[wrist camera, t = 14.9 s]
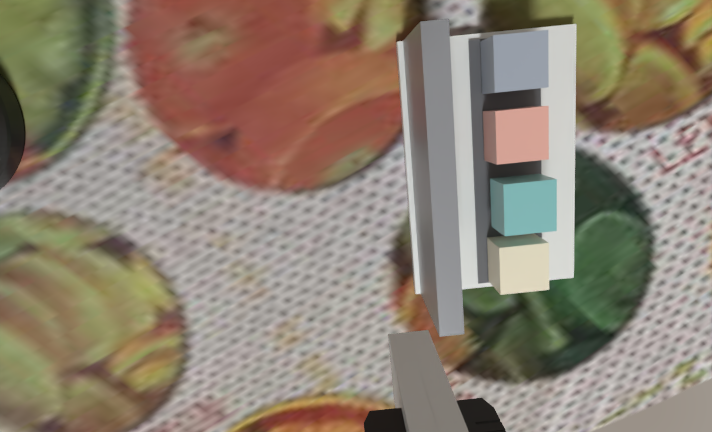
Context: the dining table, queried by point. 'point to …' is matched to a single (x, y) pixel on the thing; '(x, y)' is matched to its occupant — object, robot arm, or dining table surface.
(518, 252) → the sand key
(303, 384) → the dining table surface
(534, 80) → the slate key
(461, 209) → the keypad
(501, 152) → the coral key
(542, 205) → the teal key
